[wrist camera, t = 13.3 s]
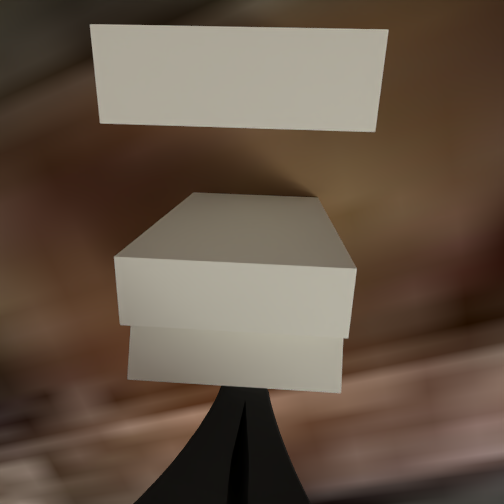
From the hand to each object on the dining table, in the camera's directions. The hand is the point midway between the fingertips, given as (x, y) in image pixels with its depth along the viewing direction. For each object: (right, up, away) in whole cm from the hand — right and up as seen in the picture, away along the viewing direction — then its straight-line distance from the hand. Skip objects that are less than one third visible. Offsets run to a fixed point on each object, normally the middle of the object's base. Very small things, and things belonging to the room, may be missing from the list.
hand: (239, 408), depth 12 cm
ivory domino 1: (+1, +11, +2) cm, 11 cm away
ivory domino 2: (0, +6, +4) cm, 7 cm away
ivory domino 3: (0, +2, +5) cm, 6 cm away
